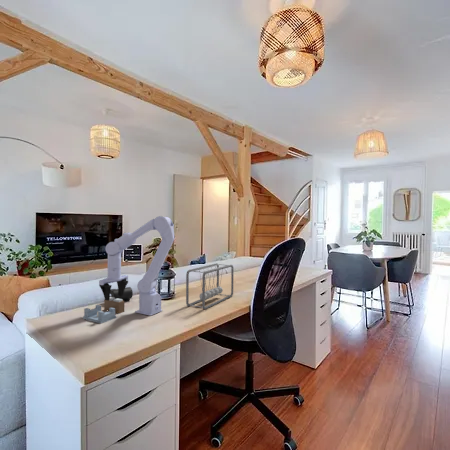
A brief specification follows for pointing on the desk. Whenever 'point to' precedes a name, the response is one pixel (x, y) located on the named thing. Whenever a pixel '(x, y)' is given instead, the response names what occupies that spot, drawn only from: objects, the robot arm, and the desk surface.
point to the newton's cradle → (211, 292)
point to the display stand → (99, 314)
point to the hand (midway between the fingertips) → (114, 298)
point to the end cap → (126, 295)
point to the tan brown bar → (114, 304)
